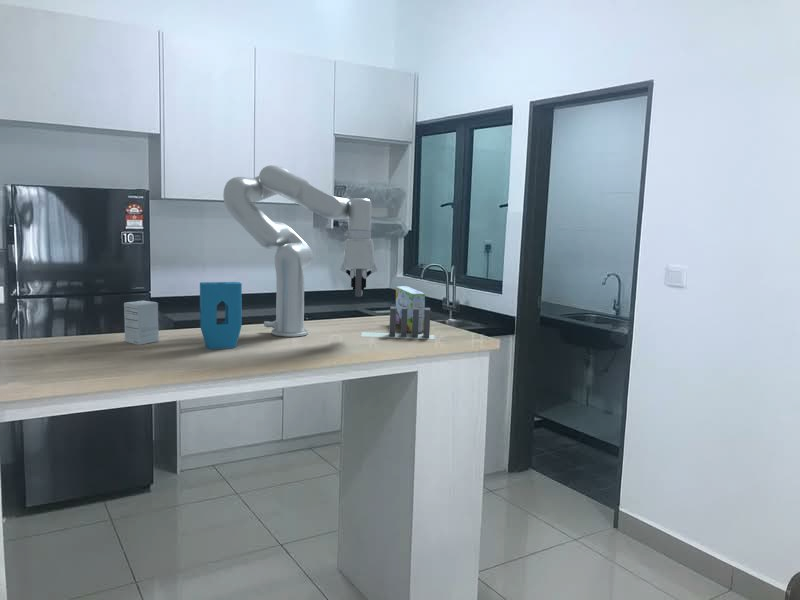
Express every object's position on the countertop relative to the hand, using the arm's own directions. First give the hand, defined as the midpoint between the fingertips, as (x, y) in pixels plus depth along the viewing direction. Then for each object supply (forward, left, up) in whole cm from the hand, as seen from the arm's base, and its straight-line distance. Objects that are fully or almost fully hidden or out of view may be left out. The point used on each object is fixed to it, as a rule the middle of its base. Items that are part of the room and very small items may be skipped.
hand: (358, 289), depth 214 cm
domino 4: (+20, +7, -17) cm, 27 cm away
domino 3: (+16, +7, -17) cm, 24 cm away
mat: (+14, +7, -17) cm, 23 cm away
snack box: (+18, +25, -18) cm, 35 cm away
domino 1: (0, 0, -2) cm, 2 cm away
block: (-41, -20, -17) cm, 49 cm away
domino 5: (+24, +7, -17) cm, 30 cm away
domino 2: (+12, +7, -17) cm, 22 cm away
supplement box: (-67, -17, -17) cm, 71 cm away
